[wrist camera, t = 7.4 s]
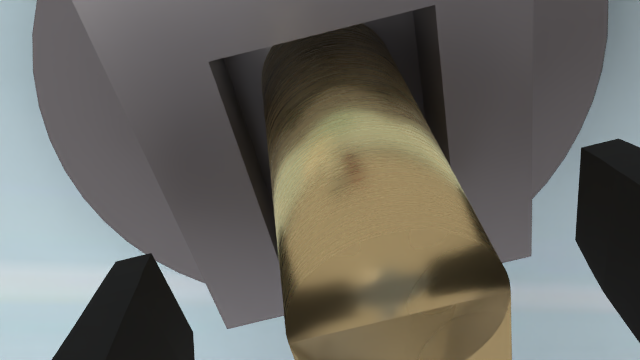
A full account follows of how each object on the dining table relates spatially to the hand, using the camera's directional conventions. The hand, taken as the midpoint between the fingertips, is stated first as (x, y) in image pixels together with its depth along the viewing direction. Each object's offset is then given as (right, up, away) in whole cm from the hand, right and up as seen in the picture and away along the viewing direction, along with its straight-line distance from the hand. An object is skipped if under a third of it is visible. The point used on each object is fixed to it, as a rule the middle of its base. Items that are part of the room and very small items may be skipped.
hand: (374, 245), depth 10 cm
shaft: (-1, +3, +4) cm, 5 cm away
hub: (-1, +3, +5) cm, 6 cm away
